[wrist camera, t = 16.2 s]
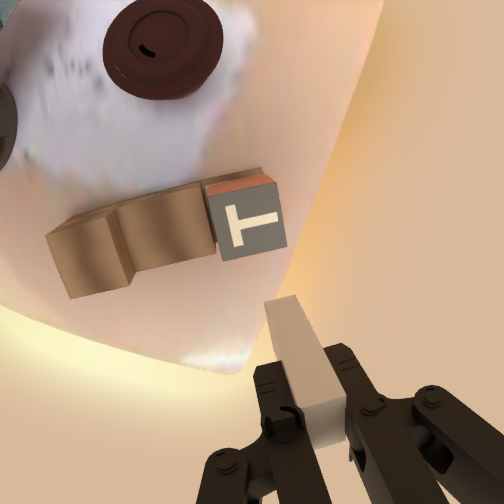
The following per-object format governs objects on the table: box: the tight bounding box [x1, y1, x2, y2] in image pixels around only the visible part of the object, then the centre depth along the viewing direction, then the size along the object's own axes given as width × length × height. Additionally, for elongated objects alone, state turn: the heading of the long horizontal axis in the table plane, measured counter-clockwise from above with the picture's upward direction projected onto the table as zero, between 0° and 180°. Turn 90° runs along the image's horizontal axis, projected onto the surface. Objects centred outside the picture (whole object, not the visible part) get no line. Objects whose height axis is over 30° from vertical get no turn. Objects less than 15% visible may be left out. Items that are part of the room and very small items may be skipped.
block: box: [207, 174, 287, 261], centre depth 36 cm, size 7×7×7 cm
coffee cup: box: [103, 0, 223, 100], centre depth 26 cm, size 10×10×15 cm
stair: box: [45, 168, 263, 299], centre depth 36 cm, size 26×8×8 cm, turn 101°
